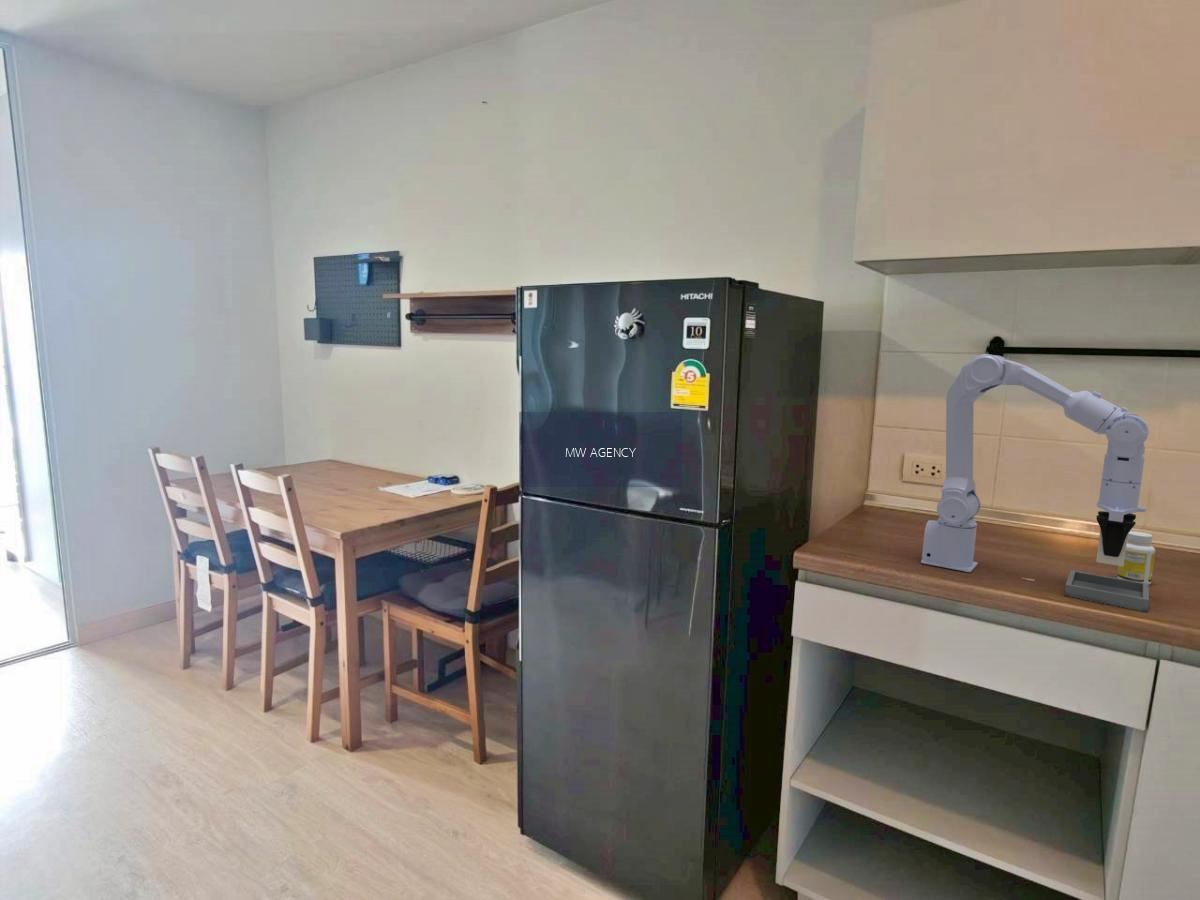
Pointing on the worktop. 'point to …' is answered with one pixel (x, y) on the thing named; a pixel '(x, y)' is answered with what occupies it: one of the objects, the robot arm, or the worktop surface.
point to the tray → (1108, 590)
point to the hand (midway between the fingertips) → (1111, 553)
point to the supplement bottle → (1138, 558)
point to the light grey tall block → (1109, 559)
